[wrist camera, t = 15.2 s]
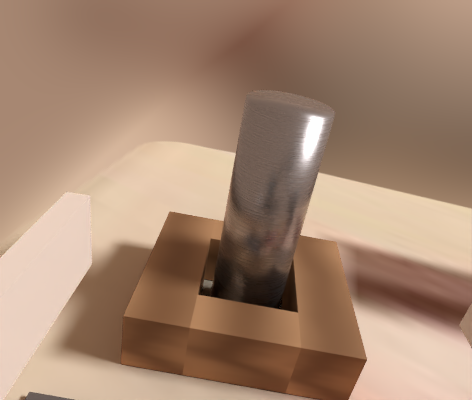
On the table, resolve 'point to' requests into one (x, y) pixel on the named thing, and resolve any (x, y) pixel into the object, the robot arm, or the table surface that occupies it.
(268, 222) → the pin
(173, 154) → the table surface
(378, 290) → the table surface
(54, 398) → the mat
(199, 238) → the socket block
